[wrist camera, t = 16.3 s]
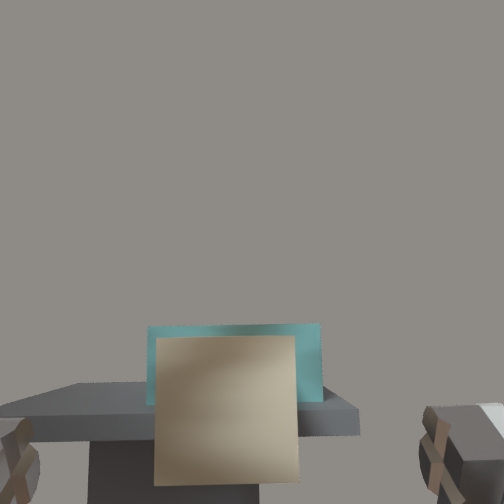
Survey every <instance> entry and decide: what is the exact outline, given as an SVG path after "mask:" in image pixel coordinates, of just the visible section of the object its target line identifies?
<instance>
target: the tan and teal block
mask: <svg viewBox="0 0 504 504" xmlns="http://www.w3.org/2000/svg"><path fill="white" fill-rule="evenodd" d="M147 337H148V338H147V388H146V405H155V450H154V486H182V485H223V484H261V483H299V453H298V421H297V402H323V380H322V357H321V332H320V324H276V325H275V324H273V325H272V324H271V325H215V326H214V325H213V326H155V327H148V336H147Z"/></svg>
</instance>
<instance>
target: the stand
mask: <svg viewBox="0 0 504 504" xmlns="http://www.w3.org/2000/svg"><path fill="white" fill-rule="evenodd" d="M146 388H147V382H116V383H115V382H112V383H78V384H74V385H70V386H67V387H64V388H60V389H57V390H53V391H50V392H46V393H42V394H39V395H35V396H32V397H28V398H25V399H22V400H18V401H15V402H11V403H7V404H4V405H0V418H27V419H29V420H31V423H32V427H33V431H34V435H33V437H32V439H31V441H30V442H71V441H90V449H89V475H88V502H87V504H259V484H223V485H182V486H154V450H155V405H146ZM297 421H298V437H301V436H302V437H305V436H353V435H360V421H359V409H358V408H356V407H355V406H353V405H351V404H350V403H348V402H347V401H345V400H344V399H342V398H341V397H339V396H337V395H336V394H335V393H333V392H331V391H330V390H328V389H327V388H325V387H324V386H323V402H297Z"/></svg>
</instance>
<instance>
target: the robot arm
mask: <svg viewBox="0 0 504 504" xmlns="http://www.w3.org/2000/svg"><path fill="white" fill-rule="evenodd" d="M422 423H423V425H424V427H425V429H426V431H427V433H426V434H425V435H424V437H423V438H422V439H421V440H420V445H419V460H420V468H421V472H422V475H423V479H424V481H425V483H426V485H427V488H428V489H429V490H431V491H432V492H433V493H434V494H436V495H437V496H438V501H437V504H504V405H502V404H500V403H484V404H474V405H454V406H427V407H426V409H425V411H424V414H423V421H422ZM33 435H34V431H33V427H32V423H31V420H29V419H27V418H0V504H28V503H29V502H30V501H31V499H32V497H33V495H34V493H35V490H36V488H37V484H38V479H39V475H40V461H39V455H38V451H37V450H35V449H34V448H33V447H32V446H31V445H30V444H29V442H30V441H31V439H32V437H33Z"/></svg>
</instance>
